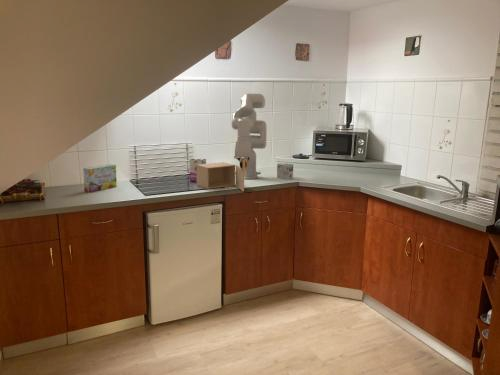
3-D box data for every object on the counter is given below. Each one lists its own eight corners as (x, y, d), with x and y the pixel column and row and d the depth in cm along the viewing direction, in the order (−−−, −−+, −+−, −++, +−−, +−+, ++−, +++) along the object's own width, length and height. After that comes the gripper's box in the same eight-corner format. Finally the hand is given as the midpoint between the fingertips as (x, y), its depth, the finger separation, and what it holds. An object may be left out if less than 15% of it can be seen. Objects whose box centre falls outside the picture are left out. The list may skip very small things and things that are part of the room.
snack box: (90, 193, 260) (88, 168, 257) (84, 191, 263) (82, 167, 260) (117, 187, 277) (116, 164, 274) (111, 185, 280) (110, 163, 277)
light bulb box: (293, 178, 316) (293, 164, 314) (289, 179, 311) (289, 165, 309) (280, 176, 322) (281, 162, 320) (276, 177, 317) (276, 163, 314)
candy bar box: (206, 181, 298) (206, 158, 295) (202, 183, 294) (202, 159, 290) (193, 180, 303) (193, 157, 300) (189, 181, 299) (189, 158, 295)
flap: (235, 184, 289) (235, 154, 284) (237, 184, 289) (238, 154, 285) (242, 191, 268) (243, 159, 264) (245, 191, 269) (245, 159, 264)
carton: (223, 181, 300) (223, 162, 297) (235, 185, 289) (235, 164, 286) (196, 185, 287) (196, 164, 283) (207, 188, 276) (207, 167, 273)
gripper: (253, 138, 270) (253, 166, 274) (230, 138, 266) (229, 167, 270) (257, 139, 263) (256, 168, 267) (232, 139, 259) (232, 169, 263)
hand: (243, 167), depth 268 cm, fingers closed
